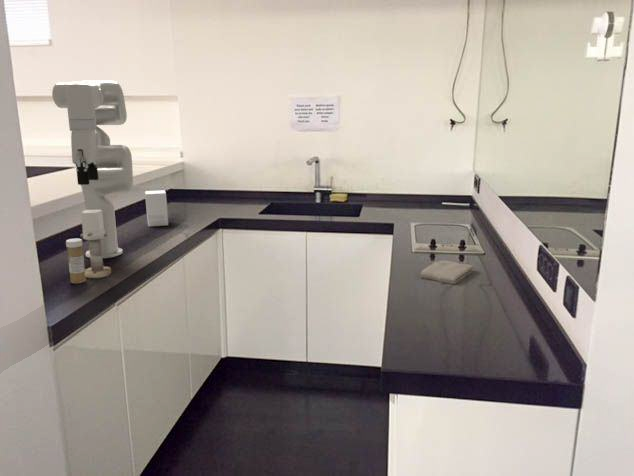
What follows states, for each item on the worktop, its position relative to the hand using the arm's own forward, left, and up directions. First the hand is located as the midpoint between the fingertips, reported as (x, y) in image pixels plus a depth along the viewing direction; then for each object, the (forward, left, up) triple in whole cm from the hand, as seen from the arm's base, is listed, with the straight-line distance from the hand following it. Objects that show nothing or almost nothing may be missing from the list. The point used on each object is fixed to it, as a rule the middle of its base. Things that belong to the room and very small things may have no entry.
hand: (88, 182), depth 166 cm
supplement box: (-74, +7, -30) cm, 80 cm away
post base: (0, 0, -30) cm, 30 cm away
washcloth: (+12, +113, -31) cm, 118 cm away
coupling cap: (+1, 0, -18) cm, 18 cm away
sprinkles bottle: (+7, -4, -30) cm, 31 cm away
